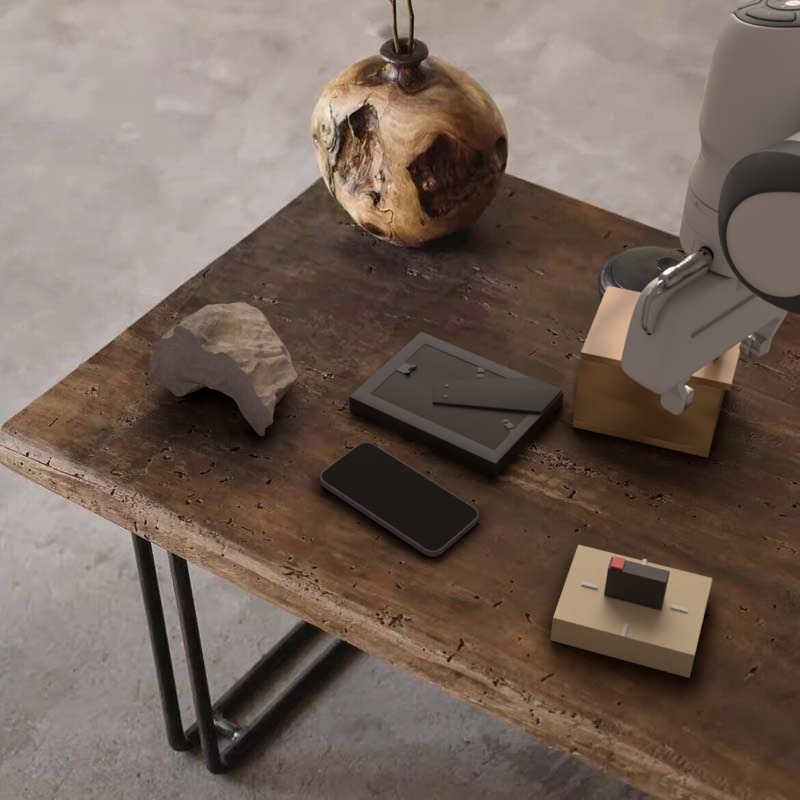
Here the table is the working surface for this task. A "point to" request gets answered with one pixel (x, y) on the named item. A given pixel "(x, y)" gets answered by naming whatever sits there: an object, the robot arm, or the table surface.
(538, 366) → the table surface
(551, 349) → the table surface
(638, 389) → the chest
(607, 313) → the chest lid
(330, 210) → the table surface
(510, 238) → the table surface
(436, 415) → the picture frame
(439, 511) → the smartphone
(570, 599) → the plate
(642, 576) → the black red-tipped block
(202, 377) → the rock
